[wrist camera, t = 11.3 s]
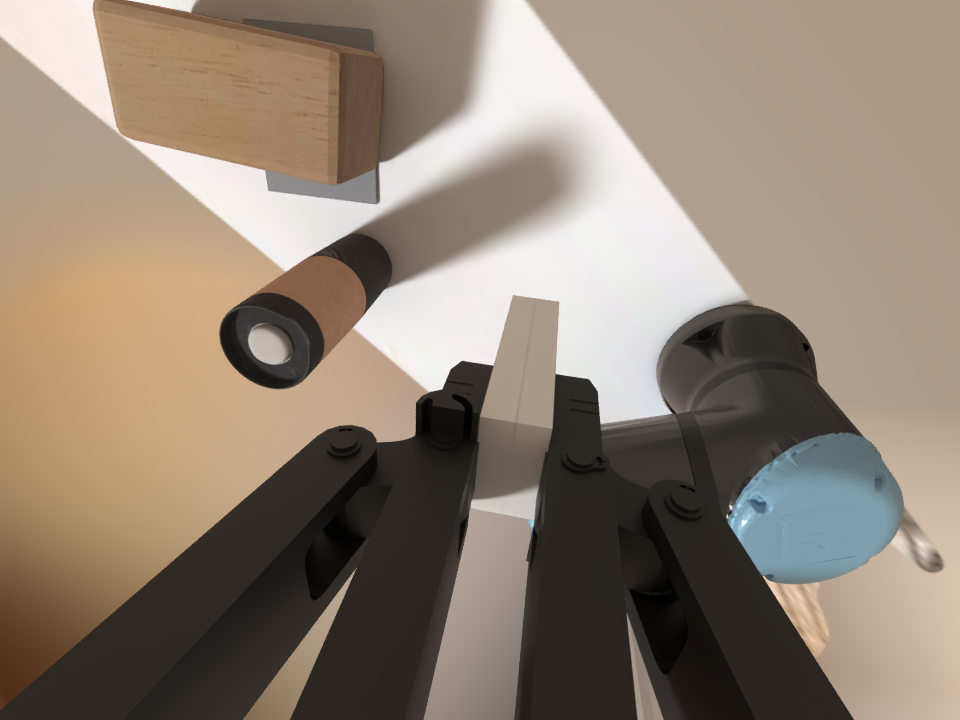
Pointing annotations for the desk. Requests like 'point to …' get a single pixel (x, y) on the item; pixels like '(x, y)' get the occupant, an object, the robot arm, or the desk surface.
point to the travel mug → (305, 312)
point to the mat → (350, 190)
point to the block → (241, 91)
